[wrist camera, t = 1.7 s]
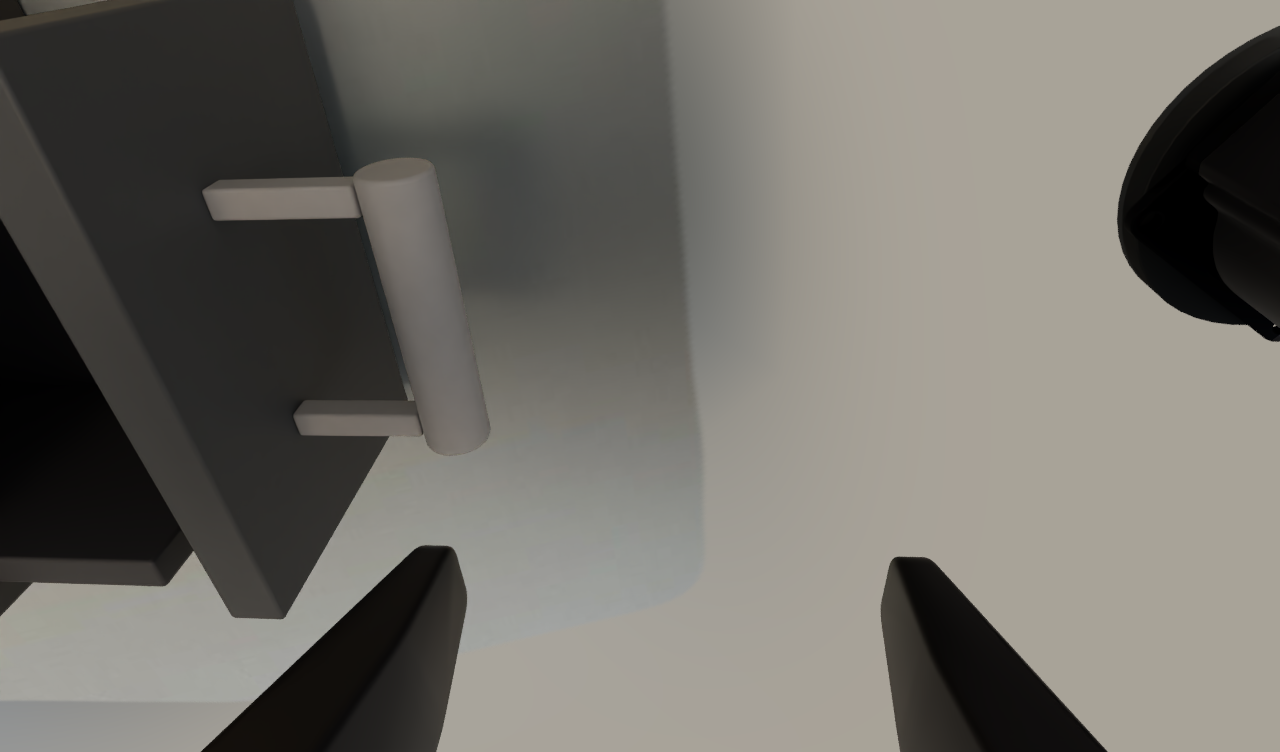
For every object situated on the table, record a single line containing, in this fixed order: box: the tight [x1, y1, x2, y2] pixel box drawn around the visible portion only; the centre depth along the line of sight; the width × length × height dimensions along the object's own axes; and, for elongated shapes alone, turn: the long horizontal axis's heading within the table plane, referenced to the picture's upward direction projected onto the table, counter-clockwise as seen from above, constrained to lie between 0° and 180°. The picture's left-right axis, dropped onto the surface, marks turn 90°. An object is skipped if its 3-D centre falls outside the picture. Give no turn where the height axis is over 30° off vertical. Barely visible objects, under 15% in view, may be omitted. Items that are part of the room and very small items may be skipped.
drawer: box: [0, 0, 490, 619], centre depth 16 cm, size 18×11×8 cm, turn 93°
